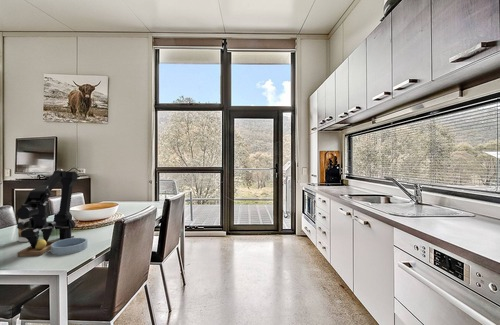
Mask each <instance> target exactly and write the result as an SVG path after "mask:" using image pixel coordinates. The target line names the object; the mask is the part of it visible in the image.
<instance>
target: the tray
mask: <svg viewBox="0 0 500 325" xmlns="http://www.w3.org/2000/svg"><path fill="white" fill-rule="evenodd" d="M57 241H58V240H51V241H47V242H46V243H47V244H46V246H45V247H44V248H43V249H36V248H35V249H32V247H31V245H29V246H28V247H25V248H24V249H21V250H20V251H18V252H17V253H16V255H17V257H19V258H21V257H39V256H43V255H45V254H47V253H48V252H50V251H51V244H52V243H54V242H57Z"/></svg>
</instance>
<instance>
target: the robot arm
mask: <svg viewBox="0 0 500 325" xmlns="http://www.w3.org/2000/svg"><path fill="white" fill-rule="evenodd" d="M78 178H79V175H78V173H77V171H69V170H54V171H53V172H52V174H51V175H50V176H49V177H48V179H46V180H45V181H44V182H43V183H42V185H40V186H37V187H35V188H33V189H32V190H31V191H29V193H28V195H27V197H26V199H25V201H24V203H23V204H21V206H20V208H18V210H17V211H16V216H17V218H18V219H19V218H20V219H22V220H24V219H28V218H30V219H29V221H28V222H23V221H22V222H19V223H18V222H17V223H16V224H17V226H16V228H17V230H18V229H20V230H23V229H25V230H23V231H22V232H21V233H20V236H21V237H23V238H26V239H28V243H29V244H30V245H29V246H31V247H32V249H35V248H36V245H37V242H38V240H39V239H40V238H39V237H40V232H42V239H44V240H45V241H46V242H47V241H48V240H49V239H50V236H51V235H52V233H53V231H54V230H59V233H58V235H59V236H58V237H59V238H57V239H56V241H60V240H64V239H69V238H75V236H74V235H72V230H73V229H75V227H76V222H75V221H74V220H73V214H72V212H71V211H70V209H71V203H72V202H71V200H72V194H73V187H74V186H75V185H76V183H77V181H78ZM59 183H60V184H61V185H62V186H61V195H60V202H59V210H58V211H57V213H55V214H54V215H53V217H54V218H53V221H51V220H50V221H47V219H48V218H49V215H47V205H50V202H48V200H49V198H50V197H51V195H52V193H51V192H52V190H53V189H54V188H55V187H56V186H57V184H59ZM26 228H29V229H26ZM30 228H33V229H30Z"/></svg>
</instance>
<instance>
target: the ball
mask: <svg viewBox="0 0 500 325" xmlns="http://www.w3.org/2000/svg"><path fill="white" fill-rule="evenodd" d="M46 244H47V243H46V241H45V240H44V239H43V238H38V242H37V245H36V249H43V248H44V247H45V246H46Z"/></svg>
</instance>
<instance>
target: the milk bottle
mask: <svg viewBox="0 0 500 325" xmlns="http://www.w3.org/2000/svg"><path fill="white" fill-rule="evenodd" d="M29 219H30V218H28V219H24V220H22V219H20V218H18V221H17V223H19V222H22V221H23V222H28V221H29ZM26 229H29V228H26ZM30 229H33V228H30ZM17 230H18V232H17V233H18V234H17V237H18V242H19V243H26V242H28V243H29V241H28V239H26V238H23V237H21V236H20V233H21V232H22V231H23V230H25V229H23V230H20V229H18V228H17Z"/></svg>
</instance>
